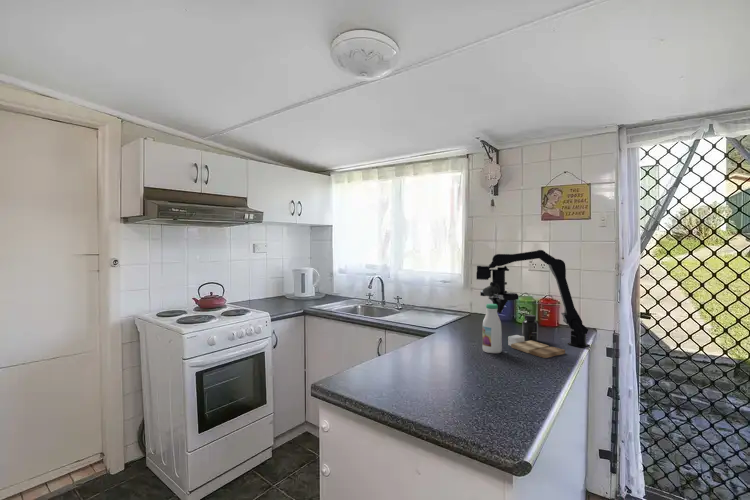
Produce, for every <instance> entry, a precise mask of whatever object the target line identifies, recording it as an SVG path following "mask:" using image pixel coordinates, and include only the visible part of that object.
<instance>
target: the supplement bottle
mask: <svg viewBox="0 0 750 500" xmlns="http://www.w3.org/2000/svg"><path fill="white" fill-rule="evenodd" d="M536 320H537V317H536V315H535V314H525V315H524V320H523V321H522V329H521V330H522V331H521V333H522V334H521V336H524V342H525V341H530V340H532V341H535V342H538V340H539V336H538V335H539V324H538V321H536Z"/></svg>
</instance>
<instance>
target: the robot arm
mask: <svg viewBox="0 0 750 500" xmlns="http://www.w3.org/2000/svg"><path fill="white" fill-rule="evenodd" d="M537 259H539V260H540V261H542V262H543V263H545V264H547V265H548V268H549V270H550V272H551V273H552V275H553V276H554V278H555V281H556V284H557V287H558V290H559V291H558V292H559V295H560V298H561V301H562V305H563V308H564V309H563V310H564V312H561V313H560V314H561V315H562V318H563V323H565V324H566V325H567V326H568V327H569V328H570V342H567V345H570V346H573V347H577V348H581V349H582V348H586V347H591V346H590V344H588V343H587V334H588V333H589V328H587V326H585V325H584V324H583V321H582V318H581V316H580V314H579V312H578V311H577V310H576V308H575V305H574V302H573V298H572V295H571V291H570V288H569V284H568V282H567V269H566V267H567V266H566V262H565V261H564V260H562V259H559V258H556V257H554V256H553V255H550V254H549V253H547V252H546V251H545V250H544V249H538V250H533V251H532V250H531V251H526V252H519V253H510V254H509V253H497V254H495V255H493V256H492V259H491V262H490V264H489V265H477V266H476V280H477V281H478V280H481V281H488V280H489V279H492V281H490V283H489V285H488V286H486V287H485V288H483V289H481V291H480V294H479V295H480V296H481V297H488V300H490V301H491V302H492V304H497V305H498V308H497V309H498V310H497V314H498V313H499V314H501V313H502V311H503V310H504V308H505V305H506V304H507V302H508V301H516V300H519V294H518V293H516V292H508V291H507V290H506V285H508V282H506V272H509V271H510V269H509V267H507V265H509V264H511V263H514V262H521V261H522V262H523V261H528V260H529V261H531V260H537ZM491 277H492V278H491Z"/></svg>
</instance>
